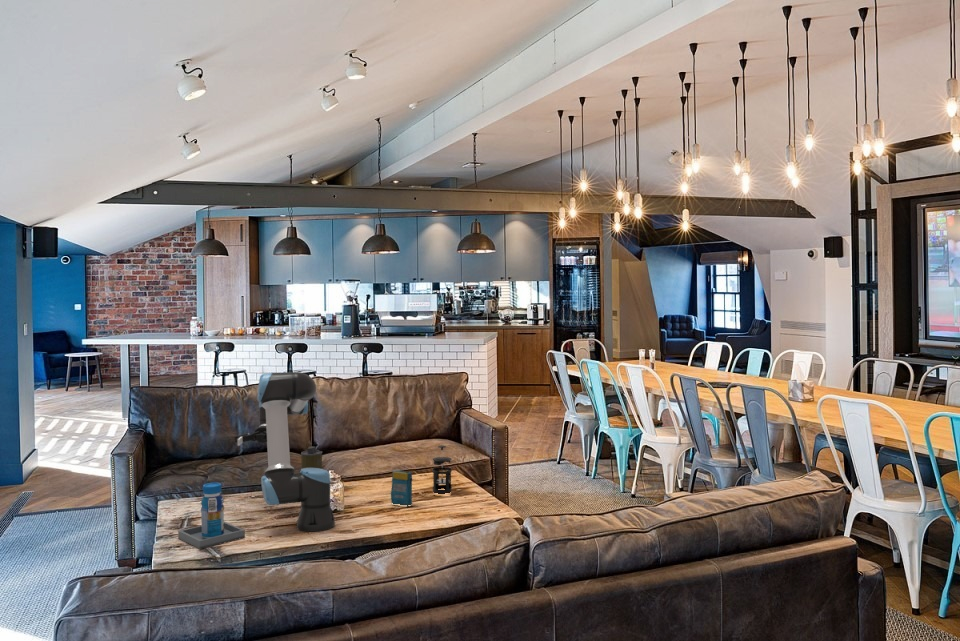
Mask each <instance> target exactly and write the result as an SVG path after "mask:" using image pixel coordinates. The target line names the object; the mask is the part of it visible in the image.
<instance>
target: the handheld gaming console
mask: <svg viewBox="0 0 960 641" xmlns="http://www.w3.org/2000/svg"><path fill="white" fill-rule="evenodd" d="M412 485H413V474H412V472H410V471H409V472H408V471H399V470H393V471H391V489H390V490H391V491H390V499H391V501H390V502H391V504H392V503H393V504H400V505H407V506H408V505H411V504H412V505H413V486H412Z"/></svg>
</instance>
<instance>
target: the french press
mask: <svg viewBox="0 0 960 641" xmlns="http://www.w3.org/2000/svg"><path fill="white" fill-rule="evenodd" d="M437 448H439V449H440V451H443V450H444V449H445V448H447V446H446V445H438V446H437ZM432 461H433V465H435V466H436V467H433V468H432V474H433V477H432V478H433V480H432V481H433V484H432V493H433V492H434V493H438V494H445V493H450V492H451V491H453V487H452V470H453V468H451V467H447V466H443V464H444V463H450V464H451V463H452V462H451V461H452V458H451V457H448V456H436V457H434V458H432ZM438 466H439V467H438ZM440 475H441V478H440ZM443 475H445V478H443ZM441 488H444V489H445V490H438V489H441Z"/></svg>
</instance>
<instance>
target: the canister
mask: <svg viewBox="0 0 960 641" xmlns="http://www.w3.org/2000/svg"><path fill="white" fill-rule="evenodd" d="M306 449H307V450H304V451H301V453H300V454H301V455H300V456H301V458H300V459H301V460H300V461H301V468H300V470H301V469H303V468H320V469H323V451H321V450H319V449H317V447H316V446H308V447H307V448H306Z"/></svg>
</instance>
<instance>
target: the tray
mask: <svg viewBox="0 0 960 641" xmlns="http://www.w3.org/2000/svg"><path fill="white" fill-rule="evenodd" d="M245 531H246V530H245V529H243V528H241V527H238V526H237V525H234V524H232V523H229V522H227V521H224V534H223V535H219V536H215V537H211V538H207V539H206V538H203V537H202V524H201V525H198V526H192V527H190V528H185V529H182V530H177V532H178V533H177V535H178V536H177V538H179V539H178V540H180V541H182V542H185V543H186V544H188V543H189V545H190V546H192V547H195V548H196V549H199V550H201V549H202V550H203V549H207V548H209V546H211V547H213V546H218V545H221V544H220V543H222V544H225V543H224V542H226V543H229V542H228V541H230V542H233V541H232V540H234V541H236V540H235V539H238V540H240V539H239V538H242V539H245V538H246V532H245ZM244 537H245V538H244ZM217 544H218V545H217Z"/></svg>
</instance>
